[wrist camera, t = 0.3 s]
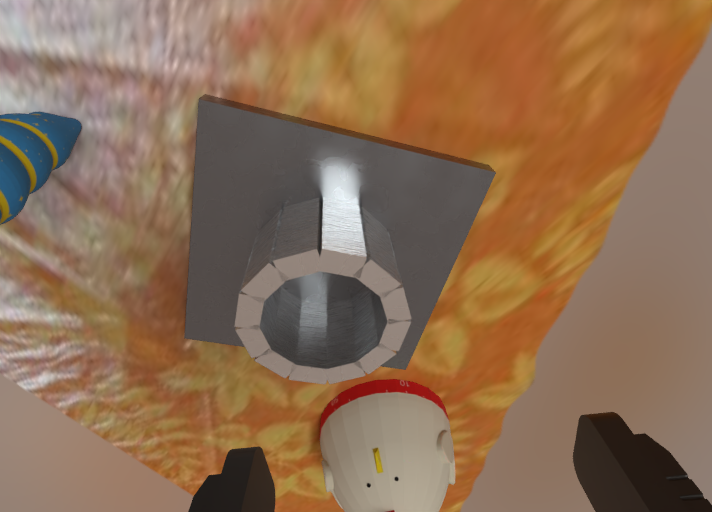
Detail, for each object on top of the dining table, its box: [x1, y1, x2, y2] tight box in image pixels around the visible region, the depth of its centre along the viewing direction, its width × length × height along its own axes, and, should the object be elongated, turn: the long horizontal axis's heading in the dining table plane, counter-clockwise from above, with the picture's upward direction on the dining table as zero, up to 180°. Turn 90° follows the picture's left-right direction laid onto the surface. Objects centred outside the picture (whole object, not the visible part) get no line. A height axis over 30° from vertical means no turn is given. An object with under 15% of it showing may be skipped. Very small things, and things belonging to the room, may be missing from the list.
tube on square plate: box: [185, 94, 496, 384], centre depth 29 cm, size 20×20×8 cm
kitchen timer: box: [320, 379, 455, 512], centre depth 39 cm, size 14×14×15 cm
